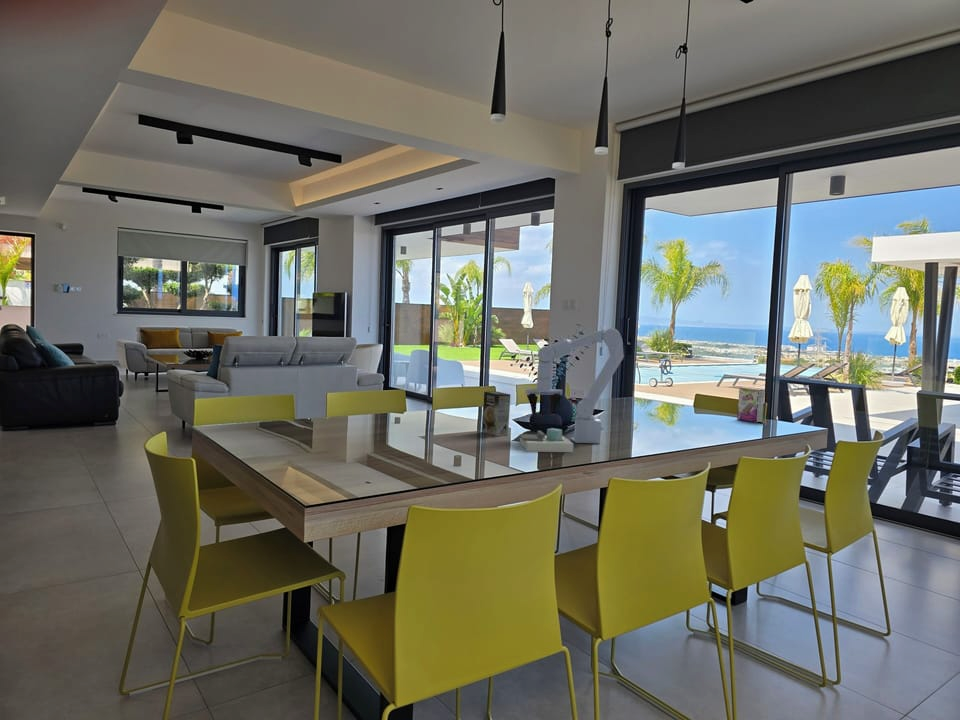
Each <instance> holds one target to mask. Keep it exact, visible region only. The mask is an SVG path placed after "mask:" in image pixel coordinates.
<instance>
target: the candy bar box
mask: <svg viewBox="0 0 960 720" xmlns="http://www.w3.org/2000/svg"><path fill="white" fill-rule="evenodd" d="M765 392H766V391H765V389H761V388H755V387H749V386H740V387H739V389H738V402H737V403H738V404H737V405H738V407H737V418H736V419H737V420H739V419H740V421H744V420H745V422H749V421H750V423H754V422H756V423H755V424H758V423H757V422H762V423H763V417H764V403H765Z"/></svg>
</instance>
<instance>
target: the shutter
mask: <svg viewBox="0 0 960 720" xmlns="http://www.w3.org/2000/svg"><path fill="white" fill-rule="evenodd" d="M545 436H546V434H545V433H544V432H543V431H542V430H537V434H527V433H526V434H525V433H524V434H523V433H522V434H521V433H520V434H519V439H520V438H521V439H522V440H526V441H543V439H545Z"/></svg>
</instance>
